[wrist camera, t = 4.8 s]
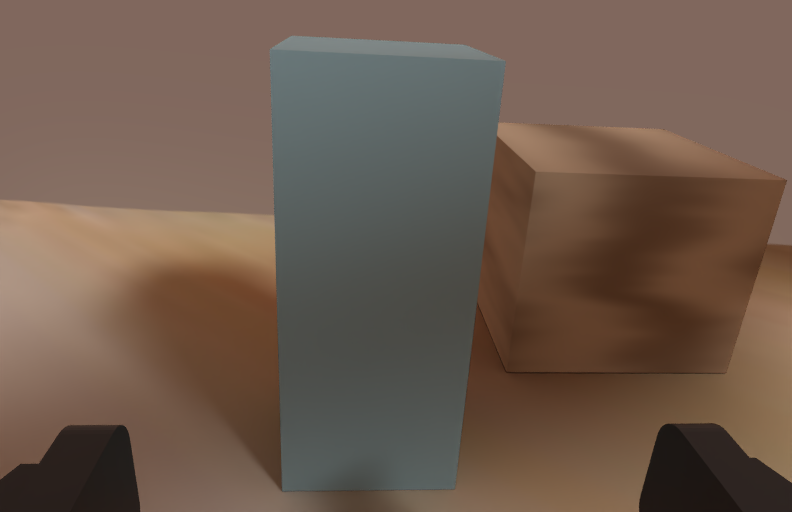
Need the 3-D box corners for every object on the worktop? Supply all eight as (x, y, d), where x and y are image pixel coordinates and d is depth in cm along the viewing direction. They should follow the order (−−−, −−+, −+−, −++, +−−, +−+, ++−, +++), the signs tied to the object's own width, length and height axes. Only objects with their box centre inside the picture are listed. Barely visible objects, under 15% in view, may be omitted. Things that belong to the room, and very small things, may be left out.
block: (630, 277, 32) (663, 129, 29) (725, 372, 24) (786, 180, 21) (465, 274, 32) (482, 121, 28) (506, 372, 23) (535, 171, 20)
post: (433, 387, 22) (465, 44, 17) (454, 489, 18) (505, 61, 13) (296, 387, 22) (291, 35, 17) (282, 491, 17) (269, 49, 12)
